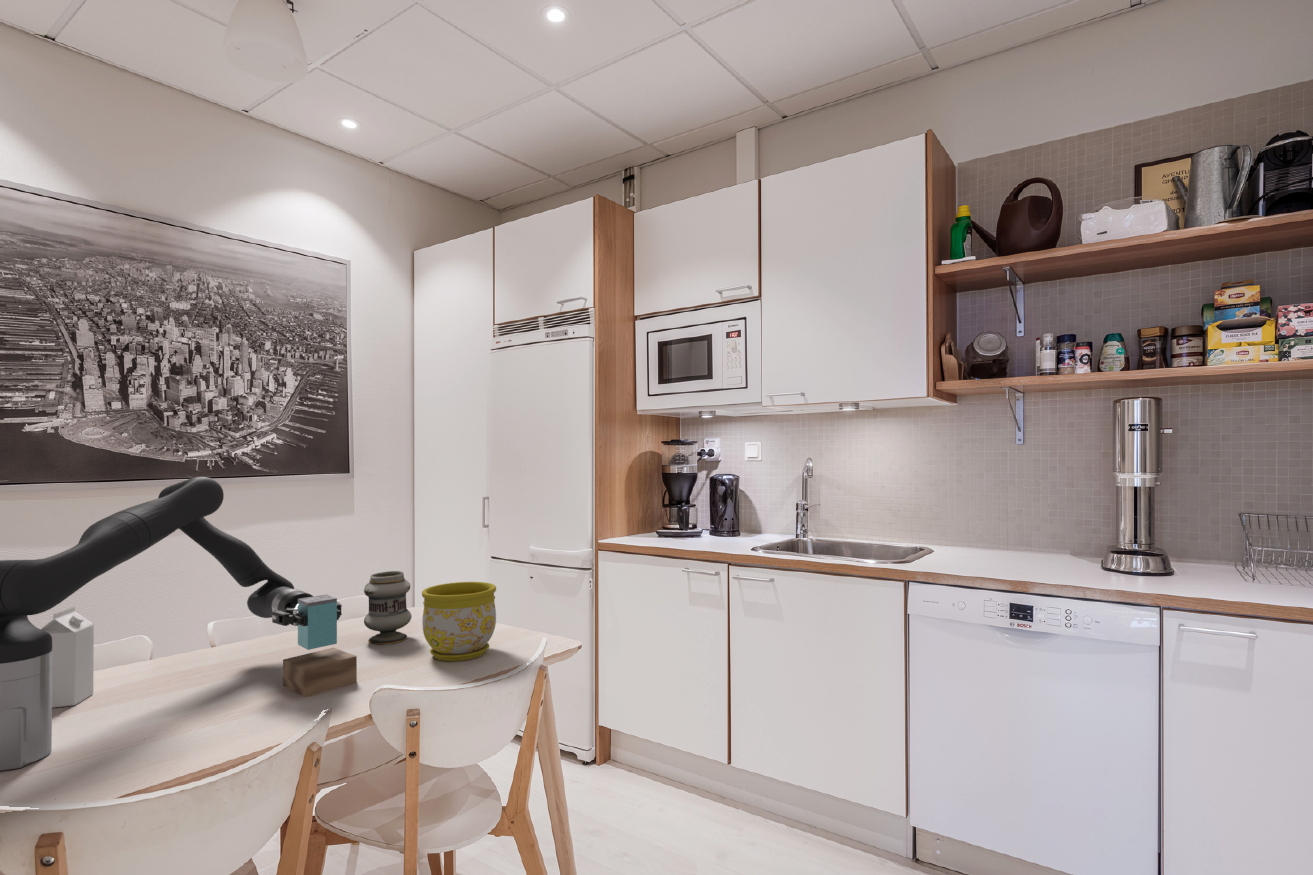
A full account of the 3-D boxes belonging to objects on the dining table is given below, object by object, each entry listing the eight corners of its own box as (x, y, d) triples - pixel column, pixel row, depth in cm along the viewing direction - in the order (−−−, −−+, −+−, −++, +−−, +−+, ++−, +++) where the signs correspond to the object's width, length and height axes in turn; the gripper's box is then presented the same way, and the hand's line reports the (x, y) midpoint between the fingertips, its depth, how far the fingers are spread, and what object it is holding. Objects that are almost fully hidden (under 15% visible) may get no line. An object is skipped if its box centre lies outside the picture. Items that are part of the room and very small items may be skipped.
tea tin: (336, 643, 146) (336, 598, 146) (307, 649, 142) (307, 603, 142) (326, 638, 150) (326, 594, 150) (297, 644, 146) (297, 598, 146)
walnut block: (356, 683, 147) (356, 656, 147) (304, 698, 138) (304, 669, 138) (333, 673, 154) (333, 647, 154) (283, 686, 145) (282, 659, 145)
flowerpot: (478, 666, 156) (478, 596, 157) (408, 663, 159) (407, 595, 159) (507, 644, 174) (507, 581, 174) (443, 642, 177) (443, 580, 177)
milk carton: (32, 710, 133) (32, 615, 133) (53, 697, 140) (54, 607, 140) (74, 706, 135) (74, 612, 135) (93, 694, 142) (94, 604, 142)
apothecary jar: (353, 644, 176) (353, 576, 177) (382, 632, 188) (382, 568, 188) (393, 647, 173) (393, 578, 174) (420, 634, 185) (420, 570, 185)
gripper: (260, 595, 151) (285, 607, 139) (326, 585, 161) (355, 595, 150) (260, 628, 151) (285, 642, 139) (326, 616, 161) (355, 628, 150)
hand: (321, 618), depth 145 cm, fingers closed on tea tin, 6 cm apart
